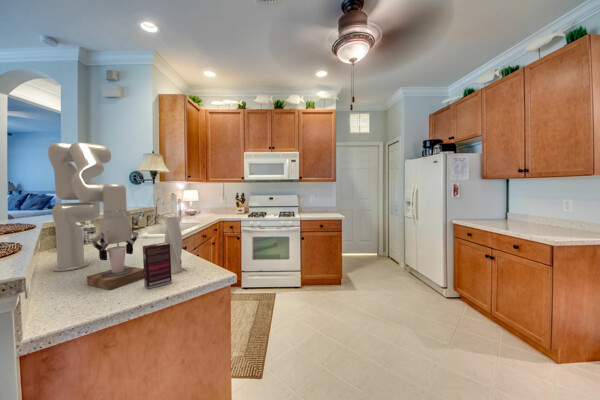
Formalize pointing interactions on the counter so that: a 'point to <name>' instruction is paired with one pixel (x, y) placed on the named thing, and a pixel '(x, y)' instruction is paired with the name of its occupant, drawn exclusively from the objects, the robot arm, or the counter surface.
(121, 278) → the plinth
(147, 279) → the supplement box
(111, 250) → the smoothie
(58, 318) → the counter surface
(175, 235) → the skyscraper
